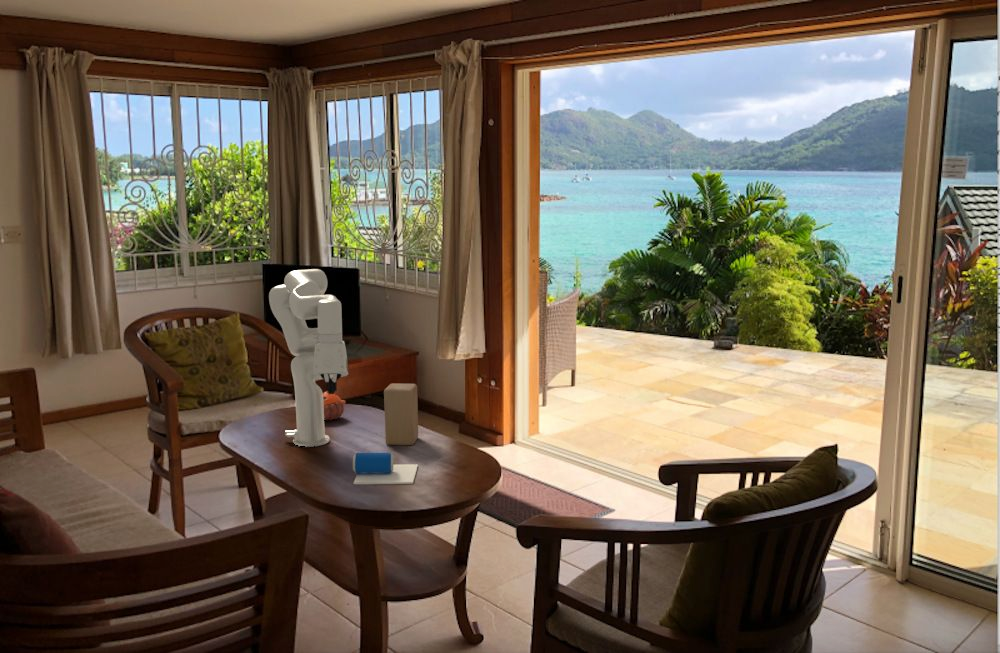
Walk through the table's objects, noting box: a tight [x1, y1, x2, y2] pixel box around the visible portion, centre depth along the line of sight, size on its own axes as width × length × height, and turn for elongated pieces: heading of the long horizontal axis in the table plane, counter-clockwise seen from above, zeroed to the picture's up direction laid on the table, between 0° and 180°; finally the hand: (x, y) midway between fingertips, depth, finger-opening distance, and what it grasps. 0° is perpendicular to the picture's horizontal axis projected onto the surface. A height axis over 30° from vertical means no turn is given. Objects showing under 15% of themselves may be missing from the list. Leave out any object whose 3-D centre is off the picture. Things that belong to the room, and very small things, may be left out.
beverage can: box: [352, 452, 395, 475], centre depth 260 cm, size 6×6×12 cm
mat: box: [353, 463, 419, 485], centre depth 261 cm, size 18×16×1 cm
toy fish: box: [323, 390, 346, 421], centre depth 321 cm, size 12×10×11 cm
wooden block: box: [383, 382, 419, 446], centre depth 293 cm, size 10×10×20 cm
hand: (331, 393), depth 270 cm, fingers closed
